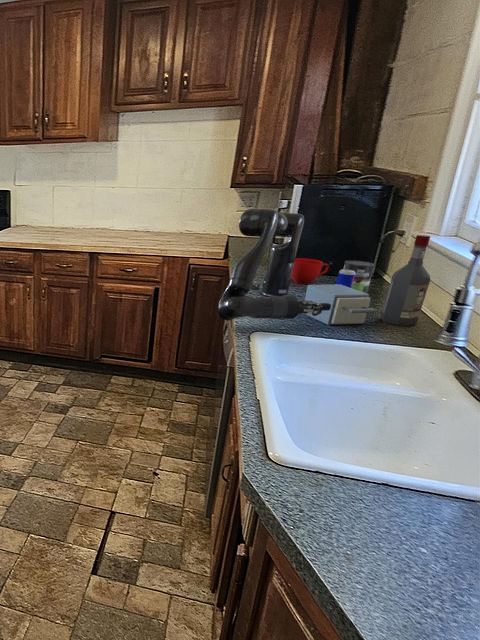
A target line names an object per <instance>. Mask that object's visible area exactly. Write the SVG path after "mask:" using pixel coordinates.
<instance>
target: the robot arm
mask: <svg viewBox="0 0 480 640" xmlns="http://www.w3.org/2000/svg"><path fill="white" fill-rule="evenodd" d="M304 224H305V216H304V215H303V214H302V213H296V212H295V213H293V212H281V211H278V210H276V209H274V208H273V209H272V208H248V209H246V210H245V211H243V213H242V214H241V215H240V218H239V221H238V229H239V232H240V233H241V234H242V235H243V236H245V237H251V238H258V240H257V242H256V243H255V244H254V246H253V247H251V249H250V250H249V251H247V252H246V253H245V254H244V255H243V256H242V257H241V258H240V259H238V261H237V262H236V264H235V265H234V267H233V269H232V272H231V275H230V279H229V282H228V285H227V287H226V289H225V290H224V292H223V294H222V295H221V298H220V300H219V302H218V305H217V315H218V316H219V317H220V319H222V320H223V321H232V320H236V319H238V318H245V317H247V318H251V319H269V320H270V319H271V320H288V319H289V320H292V319H295V318H297V316H299V314H300V315H306V314H307V313H312V315H313V316H317V315H319V314H320V313H321V312H322V311H325V310H330V308H331V304H329V303H317V302H313V301H308V300H305V299H300V298H297V296H294V295H288V294H289V293H288V292H289V288H290V283H291V280H292V278H291V275H292V271H293V266H294V261H295V258H297V257H296V256H297V252H298V248H299V242H300V238H301V235H302V232H303V228H304ZM273 237H281V238H289V239H288V240H287V241H286V242H283V243H280V244H275V245H272V246H271V248H270V254H269V259H268V264H267V268H266V271H265V274H264V278H260V283H258V284H257V285H254V280H255V277H256V274H257V271H258V268H259V266H260V264H261V261H262V260H263V258H264V256H265V253H266V252H267V250H268V248H269V246H270V243H271V242H272V239H273ZM260 287H262V289H261V294H262V295H263V296H260V297H259V296H258V297H254V296H249V295H247V294H249V293H250V291H251V289H252V288H254V290H259V288H260Z"/></svg>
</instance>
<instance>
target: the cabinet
mask: <svg viewBox="0 0 480 640" xmlns="http://www.w3.org/2000/svg"><path fill="white" fill-rule="evenodd" d="M336 297H363V298H364V297H369V298H370V294H369V293H368V292H367V293H364V292H361V291H358V290H355V289H352V288H349V287H346V286H344V285H341V284H336V283H335V284H307V287H306V291H305V296H304V300H308V301H313V302H317V303H329V304H331V308H330V310H325V311H322V312H321V313H320V314H319V315H317V316H313V315H312V313H307V314H305V316H308V317H310V318H312V319H314V320H317V321H319V322H320V323H323V324H325V325H328V326H330V325H331V326H332V325H334V326H335V325H337V324H333V323H331V317H332V313H333V309H334V305H335V301H336ZM362 324H363V323H340V324H339V325H362Z"/></svg>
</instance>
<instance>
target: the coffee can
mask: <svg viewBox="0 0 480 640" xmlns="http://www.w3.org/2000/svg"><path fill="white" fill-rule="evenodd" d="M375 266H376V264H375V263H373V262H369V261H362V260H345V261H344V266H343V269H346V270H353V271H355V276H354V280H353V284H352V289H355V290H358V291H361V292H364V293H367V294H368V291H369V286H370V283H371V279H372V276H373V273H374V269H375Z"/></svg>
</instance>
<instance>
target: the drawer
mask: <svg viewBox="0 0 480 640" xmlns="http://www.w3.org/2000/svg"><path fill="white" fill-rule="evenodd" d="M371 300H372V298H371V297H370V296H369V297H364V298H363V297H336V301H335V305H334V309H333V313H332V317H331V323H333V324H336V325H341V324H340V323H362V324H364V323H365V321H366V318H367V314H373V313H375V311H376V310H375V309H374V308H369V307H370V303H371Z"/></svg>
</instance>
